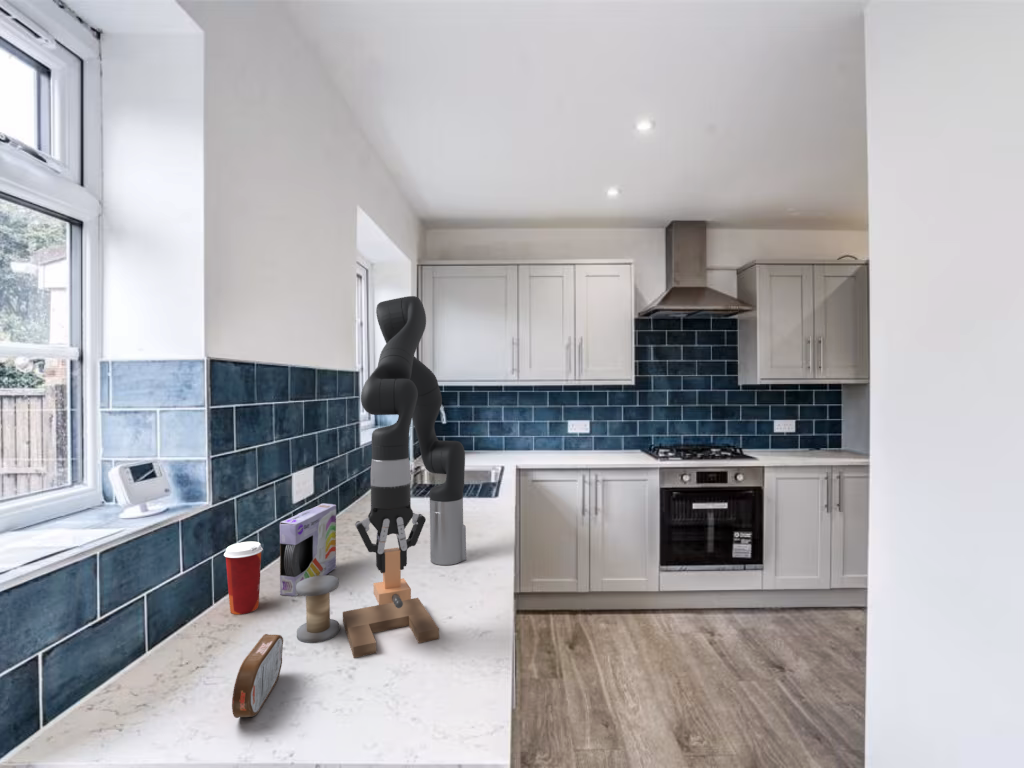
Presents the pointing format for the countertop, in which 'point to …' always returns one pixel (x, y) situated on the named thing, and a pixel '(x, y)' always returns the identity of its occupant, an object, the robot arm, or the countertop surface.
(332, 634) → the bobbin
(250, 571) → the paper cup
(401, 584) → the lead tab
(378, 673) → the countertop surface
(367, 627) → the brown flat u-shaped block
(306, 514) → the cake pan box
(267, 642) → the tin
